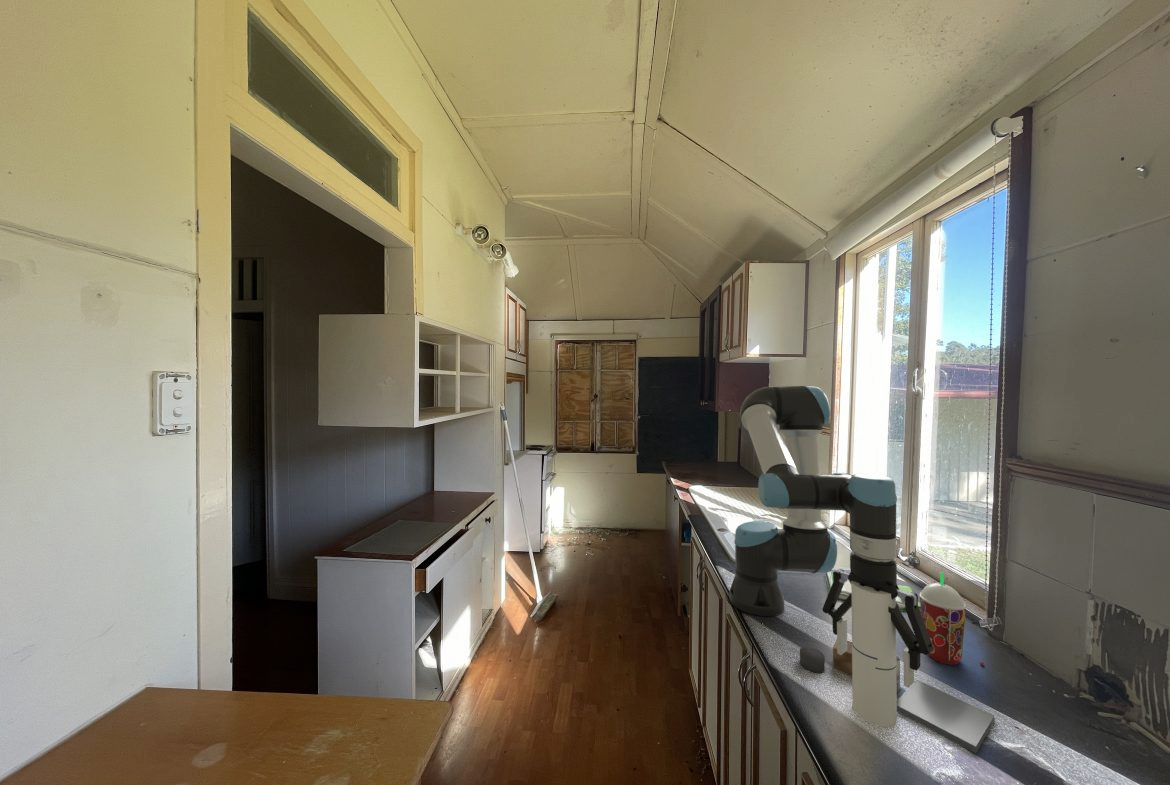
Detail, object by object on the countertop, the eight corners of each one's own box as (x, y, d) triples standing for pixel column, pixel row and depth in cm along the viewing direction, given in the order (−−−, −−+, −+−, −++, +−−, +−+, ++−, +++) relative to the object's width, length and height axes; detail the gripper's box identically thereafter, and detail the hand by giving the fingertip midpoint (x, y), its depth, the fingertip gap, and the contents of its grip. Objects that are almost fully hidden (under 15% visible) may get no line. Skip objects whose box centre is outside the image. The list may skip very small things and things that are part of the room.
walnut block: (833, 669, 94) (833, 647, 94) (837, 658, 98) (837, 637, 98) (859, 679, 91) (859, 656, 91) (862, 667, 94) (862, 645, 94)
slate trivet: (894, 709, 82) (894, 703, 82) (917, 685, 89) (917, 679, 89) (975, 753, 72) (975, 746, 72) (994, 721, 79) (994, 715, 79)
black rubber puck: (795, 664, 96) (795, 651, 96) (806, 656, 98) (806, 644, 98) (817, 677, 92) (817, 663, 92) (829, 668, 94) (828, 655, 94)
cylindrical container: (854, 693, 86) (853, 574, 86) (897, 710, 82) (896, 584, 82) (850, 714, 81) (848, 587, 81) (895, 733, 76) (894, 598, 76)
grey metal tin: (867, 682, 90) (867, 654, 90) (877, 673, 92) (877, 646, 92) (894, 695, 86) (894, 667, 86) (904, 686, 88) (903, 658, 88)
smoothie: (976, 671, 93) (975, 582, 93) (933, 666, 94) (932, 579, 94) (951, 648, 101) (950, 566, 101) (912, 644, 102) (911, 564, 102)
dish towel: (825, 576, 141) (825, 566, 141) (908, 590, 131) (908, 579, 131) (830, 600, 126) (829, 588, 126) (925, 617, 116) (925, 604, 116)
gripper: (803, 541, 89) (804, 644, 89) (941, 582, 69) (942, 713, 69) (821, 534, 93) (822, 632, 93) (956, 570, 74) (957, 694, 74)
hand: (873, 666), depth 81 cm, fingers open, 11 cm apart
